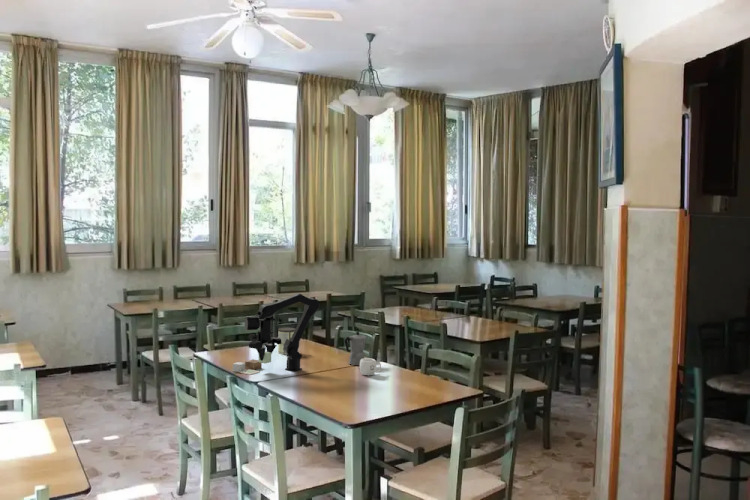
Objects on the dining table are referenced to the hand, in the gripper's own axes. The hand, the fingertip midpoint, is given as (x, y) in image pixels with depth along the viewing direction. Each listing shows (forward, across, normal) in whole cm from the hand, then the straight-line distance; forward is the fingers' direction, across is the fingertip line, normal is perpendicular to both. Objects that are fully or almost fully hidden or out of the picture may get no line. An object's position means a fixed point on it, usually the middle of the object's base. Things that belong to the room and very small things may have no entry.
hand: (264, 359), depth 329 cm
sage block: (+1, 0, 0) cm, 1 cm away
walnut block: (+7, -2, -10) cm, 12 cm away
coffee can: (+6, -43, -22) cm, 49 cm away
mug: (+6, -30, +45) cm, 55 cm away
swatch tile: (+6, +6, -5) cm, 10 cm away
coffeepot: (+6, -44, +26) cm, 52 cm away
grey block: (+6, +7, -12) cm, 15 cm away
